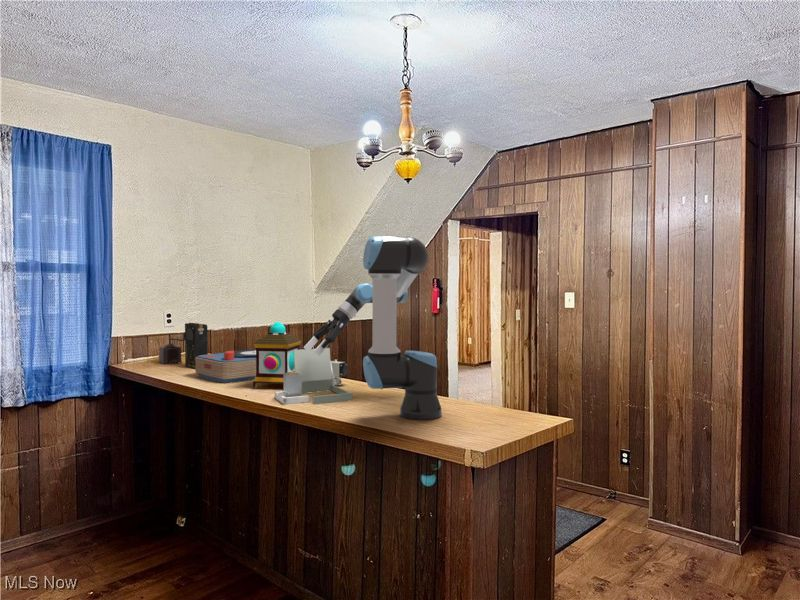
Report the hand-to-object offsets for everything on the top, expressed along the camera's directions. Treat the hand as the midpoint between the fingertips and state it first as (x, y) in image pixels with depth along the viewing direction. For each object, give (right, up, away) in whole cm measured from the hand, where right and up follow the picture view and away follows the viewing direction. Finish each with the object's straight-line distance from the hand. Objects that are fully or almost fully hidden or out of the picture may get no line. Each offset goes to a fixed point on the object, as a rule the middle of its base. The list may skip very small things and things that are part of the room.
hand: (310, 351), depth 233 cm
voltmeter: (-79, -17, +85) cm, 117 cm away
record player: (-44, -18, +60) cm, 76 cm away
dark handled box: (-99, -16, +104) cm, 144 cm away
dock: (-7, -20, -3) cm, 21 cm away
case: (+4, -19, +5) cm, 20 cm away
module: (-7, -20, -3) cm, 21 cm away
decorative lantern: (-20, -19, +28) cm, 39 cm away
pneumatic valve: (+7, -19, +30) cm, 36 cm away
